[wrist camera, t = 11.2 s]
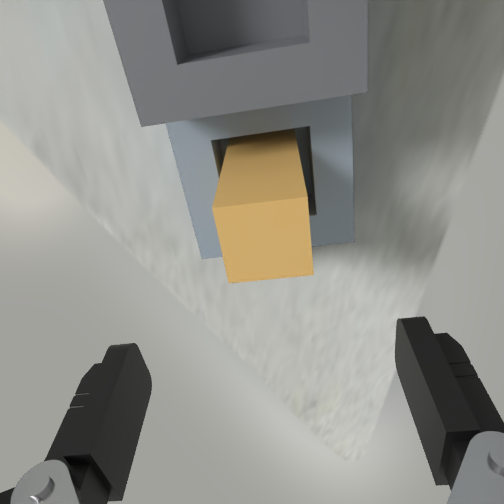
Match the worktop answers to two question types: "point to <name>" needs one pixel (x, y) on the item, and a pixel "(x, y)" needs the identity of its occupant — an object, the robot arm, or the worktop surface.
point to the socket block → (250, 91)
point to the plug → (263, 209)
